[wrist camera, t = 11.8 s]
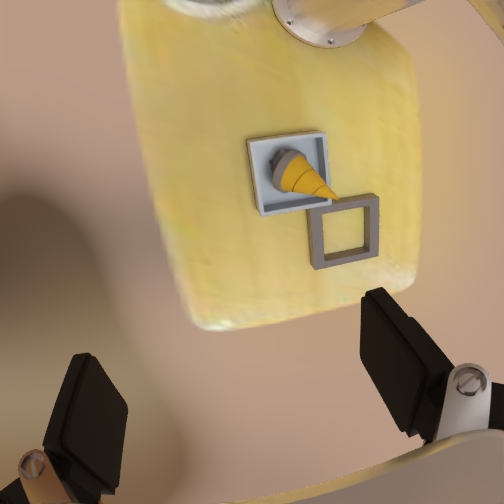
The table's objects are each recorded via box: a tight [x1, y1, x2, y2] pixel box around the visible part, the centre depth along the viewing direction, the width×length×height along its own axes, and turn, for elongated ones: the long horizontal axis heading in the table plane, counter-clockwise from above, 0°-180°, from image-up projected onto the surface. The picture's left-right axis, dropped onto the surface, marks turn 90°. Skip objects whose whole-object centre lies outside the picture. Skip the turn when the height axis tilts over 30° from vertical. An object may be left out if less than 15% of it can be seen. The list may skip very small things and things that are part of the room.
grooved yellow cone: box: [269, 149, 339, 200], centre depth 36 cm, size 5×5×10 cm
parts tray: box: [246, 131, 332, 217], centre depth 38 cm, size 9×9×3 cm
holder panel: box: [307, 194, 379, 270], centre depth 43 cm, size 9×10×2 cm
